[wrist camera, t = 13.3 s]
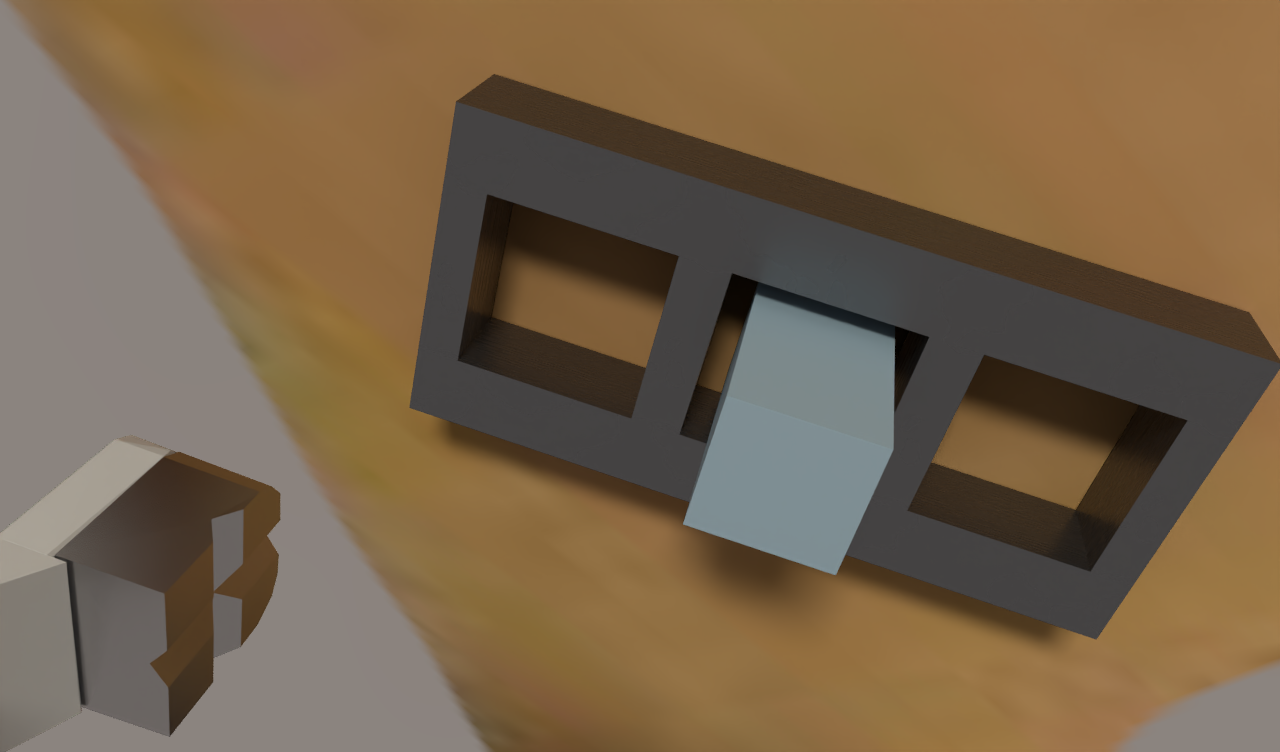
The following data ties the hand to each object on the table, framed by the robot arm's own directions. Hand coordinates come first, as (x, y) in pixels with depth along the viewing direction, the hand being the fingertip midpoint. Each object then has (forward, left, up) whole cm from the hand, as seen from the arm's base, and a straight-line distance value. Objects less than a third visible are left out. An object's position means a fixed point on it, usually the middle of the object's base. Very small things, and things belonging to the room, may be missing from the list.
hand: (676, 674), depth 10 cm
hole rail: (-2, +7, -22) cm, 23 cm away
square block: (-2, +7, -22) cm, 23 cm away
